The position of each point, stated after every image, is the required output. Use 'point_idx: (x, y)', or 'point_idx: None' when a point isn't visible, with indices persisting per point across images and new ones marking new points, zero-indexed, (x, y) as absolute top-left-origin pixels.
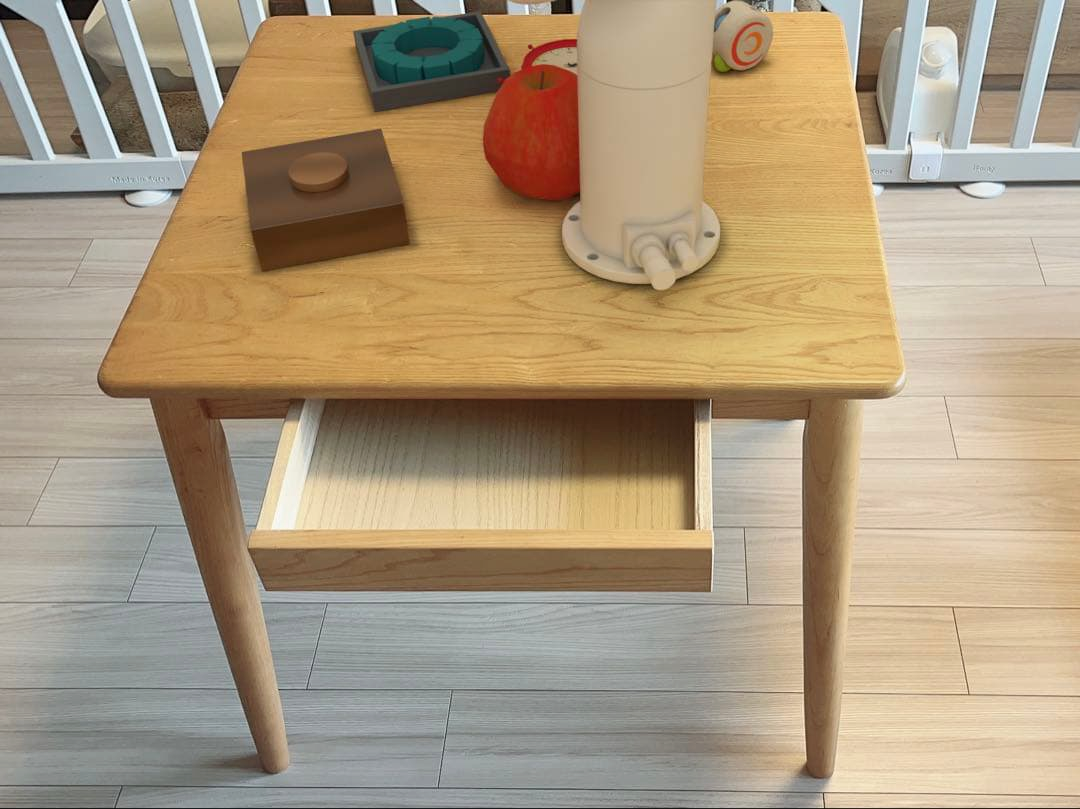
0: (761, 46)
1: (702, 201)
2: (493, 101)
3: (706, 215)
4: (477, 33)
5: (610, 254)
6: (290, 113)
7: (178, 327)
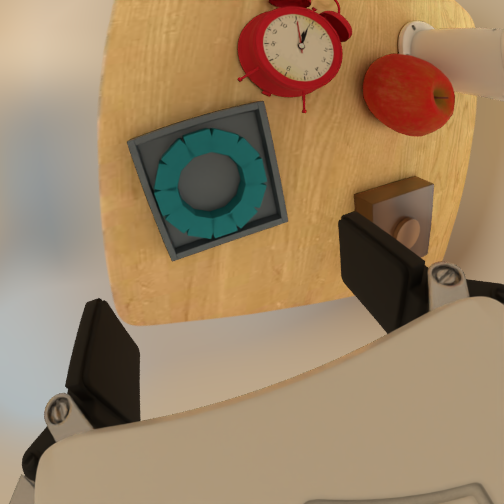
0: None
1: (416, 22)
2: (421, 129)
3: (425, 26)
4: (197, 135)
5: None
6: (273, 274)
7: (426, 264)
